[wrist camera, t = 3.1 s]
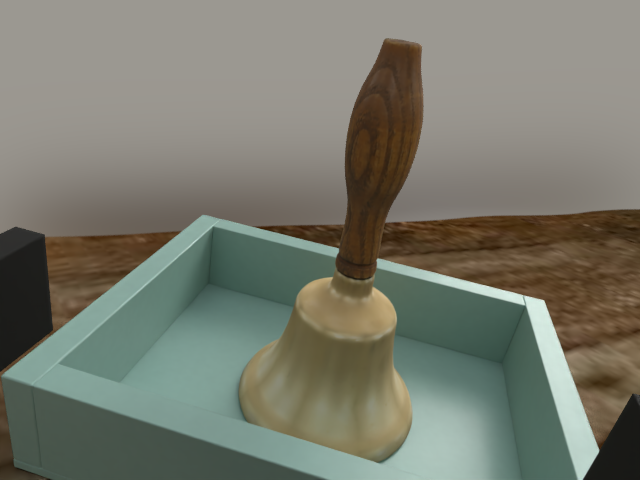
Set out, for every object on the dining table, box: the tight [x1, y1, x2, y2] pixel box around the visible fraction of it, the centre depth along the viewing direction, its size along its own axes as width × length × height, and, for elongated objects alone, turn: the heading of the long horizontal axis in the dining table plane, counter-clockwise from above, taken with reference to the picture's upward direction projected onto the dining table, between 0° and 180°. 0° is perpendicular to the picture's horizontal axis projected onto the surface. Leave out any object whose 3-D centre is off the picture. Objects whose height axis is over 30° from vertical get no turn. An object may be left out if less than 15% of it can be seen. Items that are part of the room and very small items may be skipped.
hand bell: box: [239, 38, 423, 463], centre depth 20 cm, size 8×8×16 cm
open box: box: [1, 215, 599, 480], centre depth 23 cm, size 20×15×4 cm
